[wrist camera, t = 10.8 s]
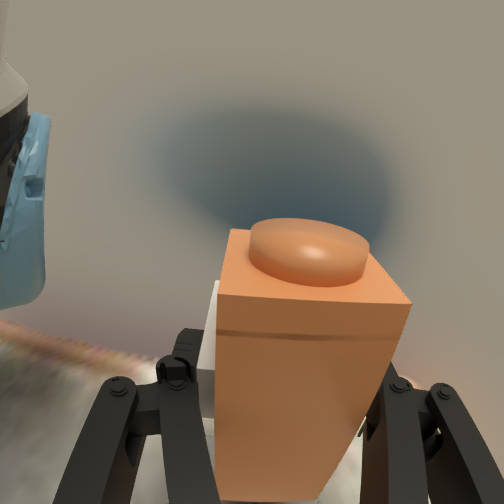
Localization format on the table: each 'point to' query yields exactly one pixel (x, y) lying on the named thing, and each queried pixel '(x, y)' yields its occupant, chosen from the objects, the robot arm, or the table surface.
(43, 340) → the table surface
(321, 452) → the orange capped block
